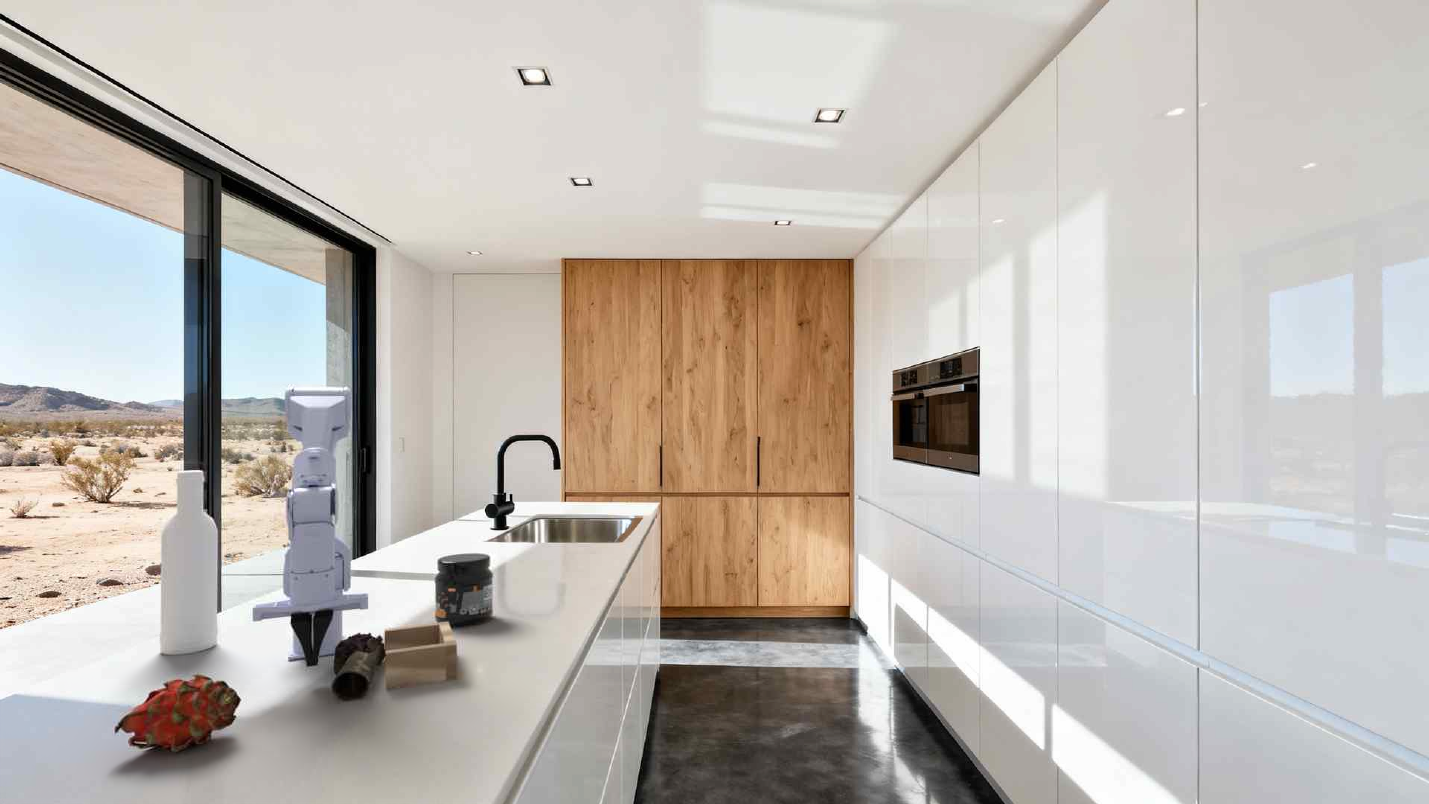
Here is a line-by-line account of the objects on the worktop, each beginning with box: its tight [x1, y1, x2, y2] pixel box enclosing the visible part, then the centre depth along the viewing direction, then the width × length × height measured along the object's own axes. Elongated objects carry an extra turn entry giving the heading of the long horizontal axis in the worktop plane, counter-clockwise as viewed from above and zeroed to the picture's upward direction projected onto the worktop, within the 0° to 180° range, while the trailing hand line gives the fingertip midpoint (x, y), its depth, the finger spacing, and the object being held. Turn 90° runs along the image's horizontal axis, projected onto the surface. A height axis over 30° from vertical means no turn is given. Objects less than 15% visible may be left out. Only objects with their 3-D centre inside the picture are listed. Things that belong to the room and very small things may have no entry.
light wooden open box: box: [384, 621, 458, 690], centre depth 111 cm, size 14×10×5 cm
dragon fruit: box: [114, 673, 242, 754], centre depth 85 cm, size 8×8×12 cm
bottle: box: [159, 469, 219, 656], centre depth 124 cm, size 8×8×30 cm
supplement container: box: [434, 552, 494, 628], centre depth 138 cm, size 10×10×12 cm
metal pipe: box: [330, 632, 386, 702], centre depth 107 cm, size 18×7×6 cm, turn 16°
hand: (312, 664), depth 105 cm, fingers closed
